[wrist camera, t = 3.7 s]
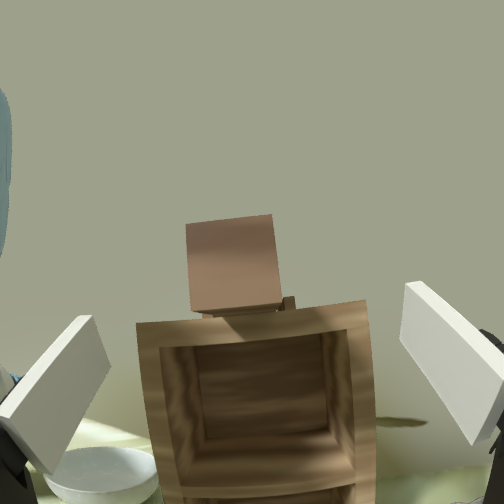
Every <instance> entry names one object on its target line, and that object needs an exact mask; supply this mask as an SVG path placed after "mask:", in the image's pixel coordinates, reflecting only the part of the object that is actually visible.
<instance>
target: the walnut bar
mask: <svg viewBox="0 0 504 504" xmlns="http://www.w3.org/2000/svg"><path fill="white" fill-rule="evenodd" d="M186 241H187V242H186V243H187V262H188V278H189V292H190V304H191V311H193V312H198V313H203V314H208V315H214V316H219V317H229V316H239V315H249V314H259V313H268V312H276V310H277V309H278V308H279V306H280V305H281V303H282V294H281V285H280V277H279V268H278V261H277V252H276V244H275V236H274V228H273V220H272V214H269V215H259V216H250V217H241V218H233V219H224V220H216V221H207V222H199V223H191V224H186Z"/></svg>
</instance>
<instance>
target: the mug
mask: <svg viewBox="0 0 504 504" xmlns="http://www.w3.org/2000/svg"><path fill="white" fill-rule="evenodd" d="M484 497H485V496H482V497H480V498H478V499H476V500H474V501H472V502H471V503H461V502H454V503H451V504H482V503H483V500H484Z"/></svg>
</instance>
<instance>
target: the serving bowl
mask: <svg viewBox="0 0 504 504" xmlns="http://www.w3.org/2000/svg"><path fill="white" fill-rule="evenodd" d="M42 474H43V477H44V479H45V481H46V483H47V484H48V486H49V487H50V489H51V490H52V491H53V492H54V493H55V494H56V495H57V496H58V497H59V498H60V499H62V500H63V501H65V502H66V503H68V504H141V503H142V502H144V501H145V500H147V499H148V498H149V497H150V496H151V495H152V494H153V493H154V491H155V490H156V488H157V486H158V483H159V478H158V474H157V469H156V465H155V460H154V456H153V455H151V454H149V453H147V452H144V451H141V450H137V449H132V448H125V447H89V448H81V449H75V450H70V451H66V452H64V454H63V456H62V458H61V460H60V462H59V464H58V466H57V468H56V470H55V472H54V474H53V476H52V475H49V474H46V473H43V472H42Z"/></svg>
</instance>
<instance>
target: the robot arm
mask: <svg viewBox="0 0 504 504" xmlns="http://www.w3.org/2000/svg"><path fill="white" fill-rule="evenodd" d="M11 127H12V124H11V114H10V108H9V105H8V101H7V98H6V96H5V94H4V93H3V91H2V90H1V89H0V256H1V254H2V250H3V246H4V242H5V236H6V226H7V218H8V208H9V185H10V179H11V155H12V128H11ZM400 341H401V342H402V344H403V345H404V347H405V348H406V350H407V351H408V352H409V354H410V355H411V356H412V358H413V359H414V361H415V362H416V363H417V365H418V366H419V368H420V369H421V371H422V372H423V373H424V375H425V376H426V378H427V379H428V381H429V382H430V384H431V385H432V386H433V388H434V389H435V391H436V392H437V394H438V395H439V397H440V398H441V400H442V401H443V403H444V404H445V406H446V407H447V409H448V410H449V412H450V413H451V415H452V416H453V418H454V419H455V421H456V423H457V424H458V426H459V427H460V429H461V430H462V432H463V433H464V435H465V437H466V438H467V440H468V441H469V443H470V445H471V446H474V445H475V444H478V443H480V442H482V441H484V440H486V439H488V438H490V436H491V434H492V432H493V430H494V429H495V427H496V425H497V426H498V428H499V429H500V430H501V432H500V434H499V436H498V437H497V439H496V441H495V442H494V444H493V446H492V447H491V449H490V451H489V454H491V453H492V452H493V451H494V449H495V448H496V450H495V455H494V460H493V465H492V469H491V474H490V478H489V482H488V486H487V490H486V493H485V497H484V500H483V503H482V504H504V344H502V342H501V341H499V339H497V338H496V337H495V336H494V335H493V334H491V333H489V332H487V331H485V330H483V329H480V330H477V329H476V328H475V327H474V326H473V325H472V324H471V323H469V322H468V321H467V320H466V319H465V318H464V317H463V316H462V315H460V314H459V313H458V312H457V311H456V310H455V309H454V308H452V307H451V306H450V305H449V304H448V303H447V302H446V301H444V300H443V299H442V298H441V297H440V296H438V295H437V294H436V293H435V292H434V291H433V290H431V289H430V288H429V287H428V286H426V285H425V284H424V283H423V282H422V281H417V282H411V283H406V284H405V294H404V306H403V314H402V323H401V331H400ZM110 368H111V365H110V362H109V360H108V357H107V355H106V352H105V349H104V347H103V344H102V341H101V338H100V336H99V333H98V330H97V327H96V324H95V321H94V318H93V315H79V316H78V317H77V318H76V319H75V320H74V321H73V322H72V323H71V324H70V325H69V326H68V327H67V328H66V329H65V331H64V332H63V333H62V334H61V335H60V336H59V337H58V338H57V339H56V340H55V342H54V343H53V344H52V345H51V346H50V347H49V348H48V349H47V350H46V352H45V353H44V354H43V355H42V356H41V357H40V359H39V360H38V361H37V362H36V363H35V364H34V365H33V366H32V368H31V369H30V370H29V371H28V372H27V374H25V375H24V376H23V377H20V376H17V375H14V374H9V373H8V372H7V371H6V369H5V368H4V367H3V366H2V365H1V364H0V504H38V502H37V499H36V495H35V492H34V488H33V484H32V480H31V476H30V472H29V470H28V469H27V467H26V466H25V464H26V463H27V461H28V460H29V462H30V463H31V464H32V465H33V466H34V468H35V469H36V470H37V471H40V472H43V473H46V474H49V475H52V476H53V474H54V472H55V470H56V468H57V466H58V464H59V462H60V460H61V458H62V456H63V454H64V452H65V450H66V448H67V446H68V444H69V443H70V441H71V439H72V437H73V435H74V433H75V431H76V429H77V427H78V425H79V424H80V422H81V420H82V418H83V416H84V414H85V412H86V411H87V409H88V407H89V405H90V403H91V402H92V400H93V398H94V396H95V394H96V393H97V391H98V389H99V387H100V385H101V384H102V382H103V380H104V379H105V377H106V375H107V373H108V372H109V370H110Z"/></svg>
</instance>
